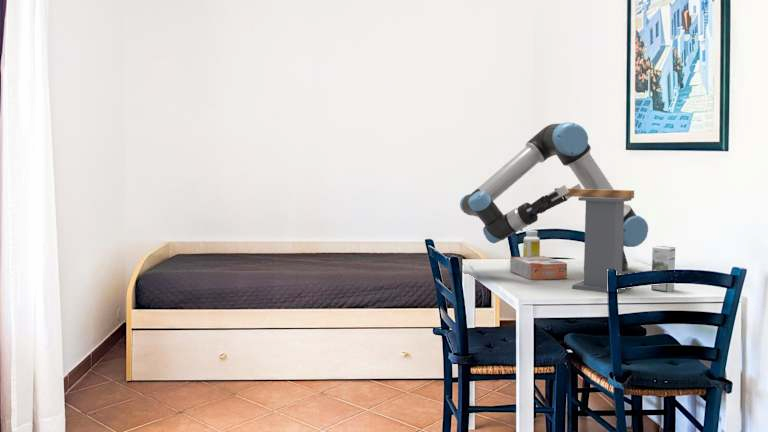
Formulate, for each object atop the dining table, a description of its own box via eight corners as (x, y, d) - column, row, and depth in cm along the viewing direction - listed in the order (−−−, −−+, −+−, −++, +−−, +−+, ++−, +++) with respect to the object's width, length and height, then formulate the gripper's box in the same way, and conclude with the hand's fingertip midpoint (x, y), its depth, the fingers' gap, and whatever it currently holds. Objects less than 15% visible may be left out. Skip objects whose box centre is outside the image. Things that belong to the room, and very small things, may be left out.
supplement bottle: (542, 261, 329) (542, 230, 328) (535, 263, 323) (536, 231, 322) (527, 259, 333) (527, 229, 332) (520, 261, 327) (521, 230, 326)
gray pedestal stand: (572, 288, 263) (574, 197, 261) (586, 282, 275) (588, 195, 272) (620, 293, 254) (622, 199, 252) (632, 287, 266) (635, 197, 263)
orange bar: (554, 195, 270) (554, 188, 270) (558, 195, 273) (558, 188, 272) (630, 198, 256) (631, 190, 255) (634, 198, 258) (634, 190, 258)
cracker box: (544, 254, 302) (568, 262, 282) (543, 270, 303) (567, 279, 283) (509, 255, 299) (531, 264, 279) (509, 271, 300) (531, 280, 280)
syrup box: (674, 289, 261) (676, 246, 260) (667, 292, 257) (669, 248, 256) (657, 287, 265) (659, 245, 264) (650, 290, 261) (652, 246, 260)
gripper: (541, 223, 288) (591, 196, 277) (513, 228, 267) (565, 199, 256) (532, 205, 290) (581, 177, 279) (503, 209, 269) (555, 179, 258)
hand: (574, 187), depth 268 cm, fingers open, 13 cm apart
